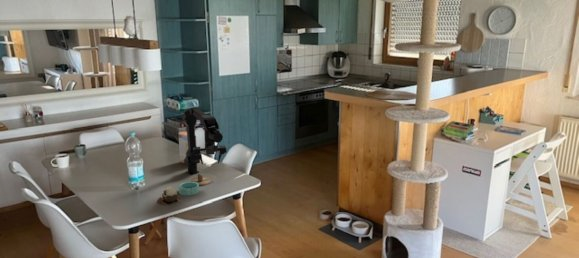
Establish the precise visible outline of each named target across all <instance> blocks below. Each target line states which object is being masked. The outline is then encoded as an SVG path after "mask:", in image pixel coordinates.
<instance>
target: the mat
mask: <svg viewBox="0 0 579 258" xmlns="http://www.w3.org/2000/svg"><path fill="white" fill-rule="evenodd" d="M190 181H191V180H188V181H186V182H190ZM211 184H215V181H212V180H211V182H210V183H209V184H207V185H211ZM207 185H206V186H207ZM200 187H202V186H199V188H200Z"/></svg>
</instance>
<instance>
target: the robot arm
mask: <svg viewBox="0 0 579 258" xmlns="http://www.w3.org/2000/svg"><path fill="white" fill-rule="evenodd" d="M181 119H182V122H183V124H184V125H185V126H186V128H185V129H186V132H187V139H188V150H187V152H186V158H185V159H184V163H183V164H184V165H186V166H187V170H186V171H185V173H187V174H188V175H190V176H192V175H196V174H200V171H198V164H200V163H201V164H202V165H204V162H203V161H204V159H203V155H202V153H203V152H204V153H205V155H209V156H210V155H215V154H216V153H217V152H218V156H217V164H218V165H219V163H220V160H221V158H222V156H223V155H225V154H226V153H227V146H226V145H218V144H219V143H221V142H222V140H223V139H224V136H223V134H222V133H221V132H220V125H219V123H218V121H217V119H216V117H215V116H214V115H210V114H209V115H208V114H206V113H205V112H204V111H202V110H201V109H200V108H199V107H198V106H193V107H190V108H189V109H187V110H186V111H184V112H183V113H182V115H181ZM197 119H198V121H200V122H201V125H202V130H203V132H204V148H201V146H197V147H196V145H197V139H196V140H195V135H196V130H195V129H196V128H195V124H197ZM215 143H216V144H215ZM217 143H218V144H217Z"/></svg>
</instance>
